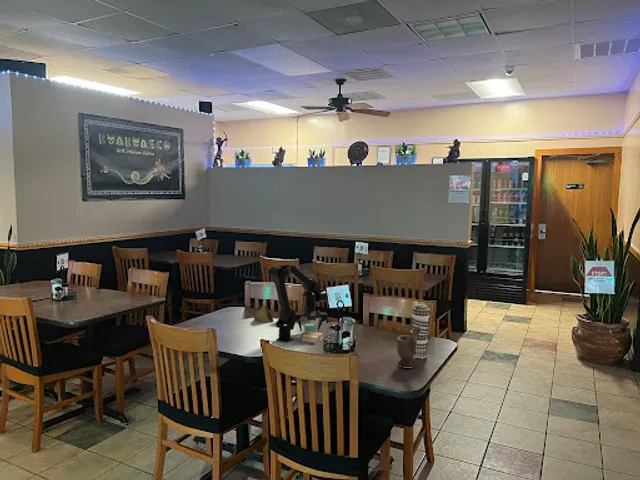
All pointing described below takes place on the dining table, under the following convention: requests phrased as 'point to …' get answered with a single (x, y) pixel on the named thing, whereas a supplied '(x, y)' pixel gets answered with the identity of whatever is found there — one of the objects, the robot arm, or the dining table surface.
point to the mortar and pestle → (407, 348)
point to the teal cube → (309, 328)
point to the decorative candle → (421, 321)
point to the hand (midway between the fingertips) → (309, 331)
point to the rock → (263, 315)
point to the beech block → (312, 337)
